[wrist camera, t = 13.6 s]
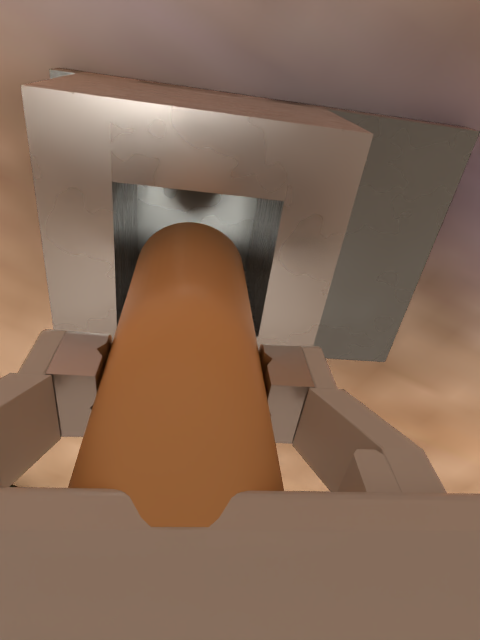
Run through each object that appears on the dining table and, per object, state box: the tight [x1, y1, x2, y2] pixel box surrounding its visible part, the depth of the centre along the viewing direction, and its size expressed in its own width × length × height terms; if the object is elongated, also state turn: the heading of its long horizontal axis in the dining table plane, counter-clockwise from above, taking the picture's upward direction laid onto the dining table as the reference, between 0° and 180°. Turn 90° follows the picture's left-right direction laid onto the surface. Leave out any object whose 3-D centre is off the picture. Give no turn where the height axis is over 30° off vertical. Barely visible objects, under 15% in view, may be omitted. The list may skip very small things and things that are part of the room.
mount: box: [21, 68, 480, 362], centre depth 18 cm, size 18×13×10 cm
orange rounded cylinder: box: [68, 222, 284, 527], centre depth 10 cm, size 4×4×10 cm
